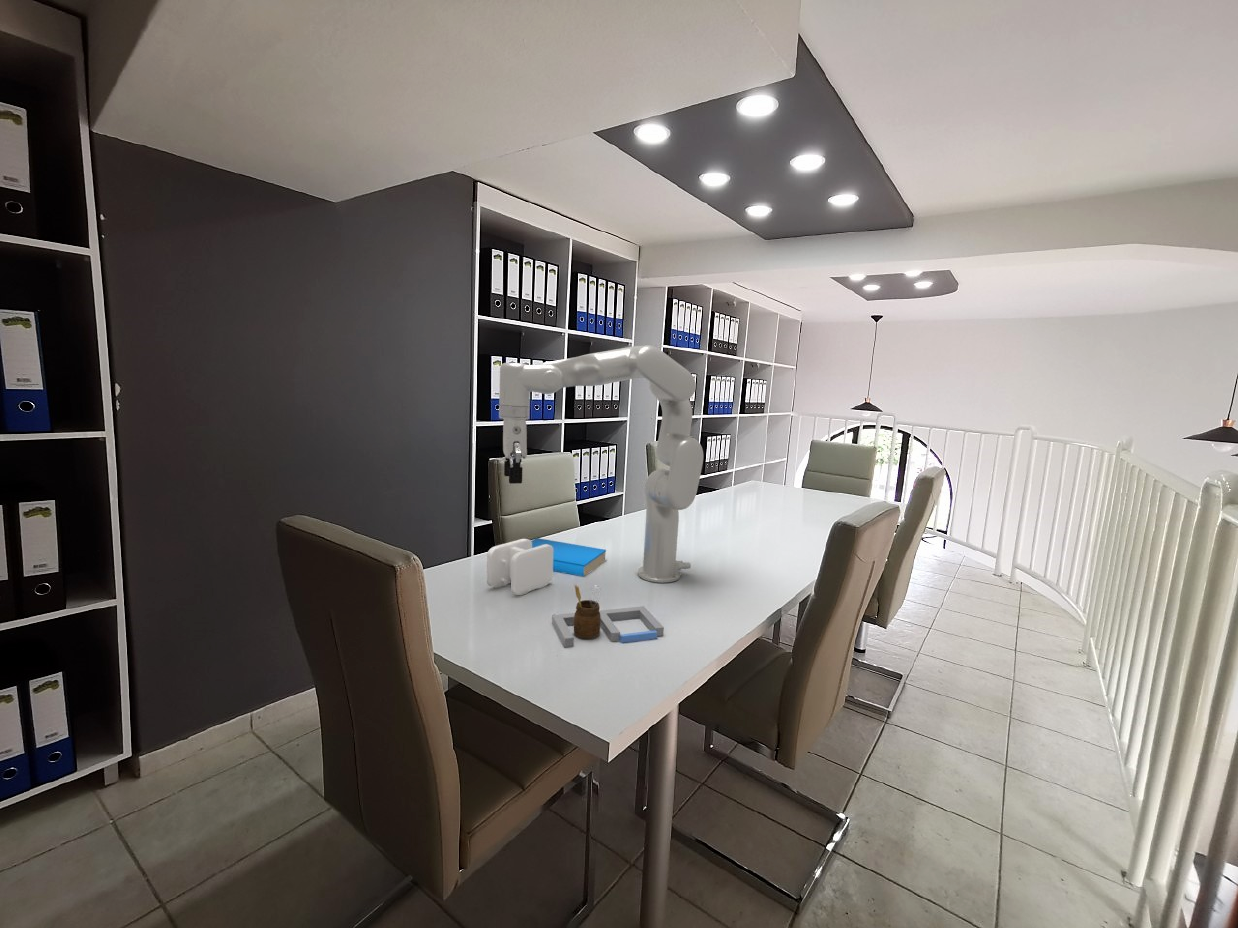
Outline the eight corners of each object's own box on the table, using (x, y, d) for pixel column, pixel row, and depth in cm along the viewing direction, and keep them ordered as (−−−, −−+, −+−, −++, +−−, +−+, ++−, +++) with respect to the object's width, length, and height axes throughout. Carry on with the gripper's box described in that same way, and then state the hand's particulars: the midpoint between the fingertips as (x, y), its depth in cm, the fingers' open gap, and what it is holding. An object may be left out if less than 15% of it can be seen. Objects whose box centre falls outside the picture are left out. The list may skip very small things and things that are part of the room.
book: (536, 537, 184) (606, 548, 175) (536, 550, 185) (606, 561, 176) (508, 552, 168) (584, 564, 159) (508, 565, 169) (583, 578, 160)
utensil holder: (605, 635, 124) (607, 584, 123) (581, 642, 121) (583, 590, 119) (590, 625, 129) (593, 576, 127) (567, 631, 126) (569, 581, 124)
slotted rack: (643, 613, 137) (644, 606, 137) (665, 637, 125) (665, 629, 125) (552, 623, 129) (552, 615, 129) (565, 649, 117) (565, 640, 117)
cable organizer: (512, 600, 141) (513, 556, 140) (485, 589, 148) (485, 547, 146) (553, 584, 153) (554, 543, 152) (526, 574, 160) (527, 535, 158)
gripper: (535, 416, 133) (533, 486, 135) (523, 410, 149) (522, 473, 152) (503, 415, 130) (501, 486, 133) (495, 409, 147) (494, 473, 149)
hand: (512, 479), depth 142 cm, fingers open, 9 cm apart
